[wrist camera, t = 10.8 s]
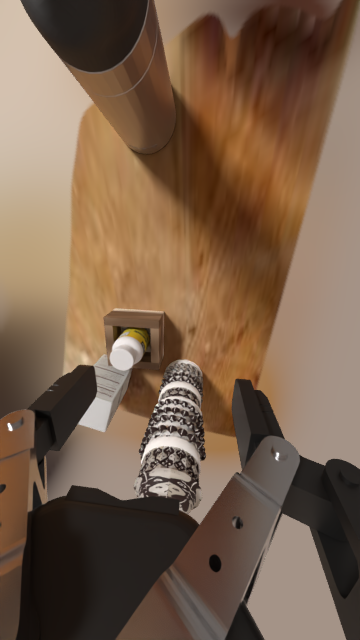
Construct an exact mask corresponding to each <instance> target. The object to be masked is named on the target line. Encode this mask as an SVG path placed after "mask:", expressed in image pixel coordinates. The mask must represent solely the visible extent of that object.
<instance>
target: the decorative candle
mask: <svg viewBox="0 0 360 640" xmlns="http://www.w3.org/2000/svg"><path fill="white" fill-rule="evenodd" d="M163 378H165V379H163V380H162V383H163V384H162V385H161V386H160V388H161V389H160V390H159V394H160V396H159V400H158V402H159V403H158V404H156V406H155V407H154V412H153V414H152V415H151V417H152V418H151V419H150V420H149V423H148V428H147V429H146V431H147V432H145V434H144V436H145V437H144V438H143V440H142V443H141V448H140V449H139V454H140V455H141V464H142V465H141V469H140V473H139V476H138V477H137V478H136V481H135V484H134V489H135V494H136V496H137V497H138V498H143V497H150V496H156V497H164V498H171V499H178V500H180V506H179V510H181V511H183V512H185V513H186V514H189V513H190V511H191V510H192V509H194V508H196V507H197V506H198V505H199V503H200V501H201V499H202V492H201V488H200V487H199V474H200V461H201V459H202V460H204V459H205V458H206V453H205V448H204V446H203V445H204V442H205V440H204V438H203V437H204V429H203V427H202V425H203V419H202V418H203V417H202V412H201V410H200V409H201V403H202V401H203V400H202V397H203V393H202V391H203V387H202V386H203V377H202V371H201V370H200V368H199V366H198V365H196V364H195V363H194V362H192V361H189V360H186V359H183V360H176V361H174V362H171V363H170V364H169V365H168V366H167V368H166V370H165V374H164V376H163ZM148 442H149V443H148ZM144 449H145V450H144Z"/></svg>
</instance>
